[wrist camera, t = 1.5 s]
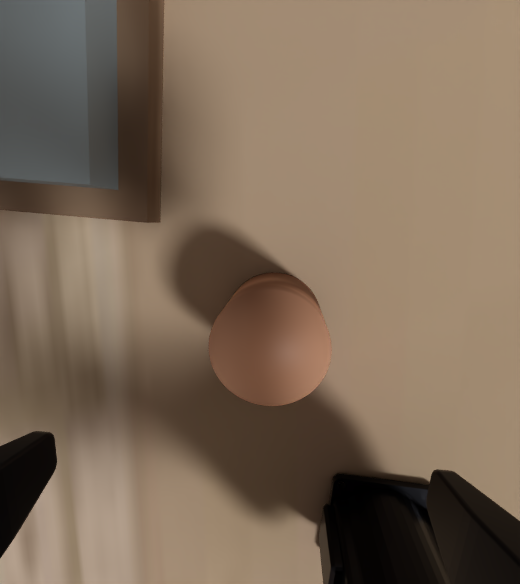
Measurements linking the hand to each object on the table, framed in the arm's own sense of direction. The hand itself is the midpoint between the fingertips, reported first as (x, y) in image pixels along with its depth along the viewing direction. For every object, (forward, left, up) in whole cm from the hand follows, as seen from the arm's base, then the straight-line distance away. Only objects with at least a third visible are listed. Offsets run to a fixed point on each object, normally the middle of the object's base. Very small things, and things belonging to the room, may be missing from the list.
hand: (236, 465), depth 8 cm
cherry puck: (0, 0, -12) cm, 12 cm away
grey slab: (+13, -11, -10) cm, 20 cm away
